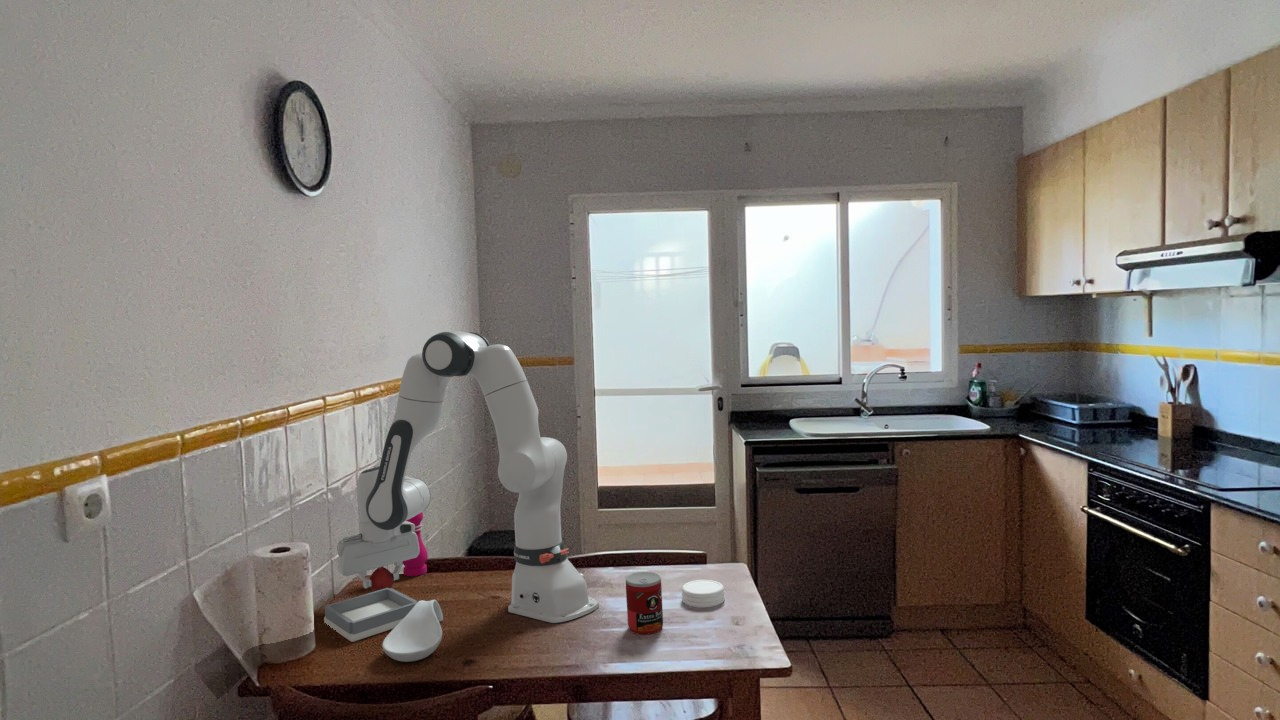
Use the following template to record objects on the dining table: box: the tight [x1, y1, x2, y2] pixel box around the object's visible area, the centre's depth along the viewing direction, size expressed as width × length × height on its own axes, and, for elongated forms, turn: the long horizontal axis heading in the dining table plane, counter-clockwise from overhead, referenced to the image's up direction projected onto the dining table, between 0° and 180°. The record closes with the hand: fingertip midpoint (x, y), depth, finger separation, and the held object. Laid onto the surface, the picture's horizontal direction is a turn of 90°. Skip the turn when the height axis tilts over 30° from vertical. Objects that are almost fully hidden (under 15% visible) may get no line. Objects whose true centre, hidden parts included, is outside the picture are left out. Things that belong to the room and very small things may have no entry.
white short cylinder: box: [681, 579, 726, 609], centre depth 170 cm, size 10×10×4 cm
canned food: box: [625, 571, 664, 636], centre depth 156 cm, size 8×8×11 cm
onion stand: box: [323, 587, 419, 643], centre depth 167 cm, size 16×16×4 cm
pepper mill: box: [402, 511, 429, 577], centre depth 201 cm, size 7×7×20 cm
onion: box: [369, 566, 394, 592], centre depth 184 cm, size 6×6×8 cm
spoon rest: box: [381, 599, 444, 663], centre depth 154 cm, size 24×12×7 cm, turn 4°
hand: (381, 583), depth 184 cm, fingers closed on onion, 6 cm apart
